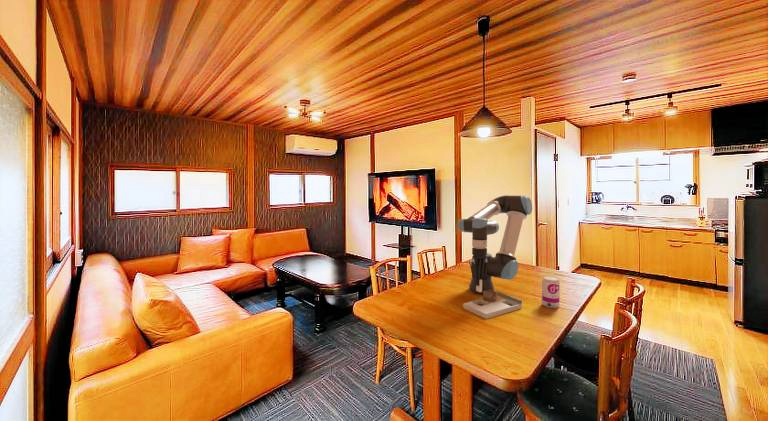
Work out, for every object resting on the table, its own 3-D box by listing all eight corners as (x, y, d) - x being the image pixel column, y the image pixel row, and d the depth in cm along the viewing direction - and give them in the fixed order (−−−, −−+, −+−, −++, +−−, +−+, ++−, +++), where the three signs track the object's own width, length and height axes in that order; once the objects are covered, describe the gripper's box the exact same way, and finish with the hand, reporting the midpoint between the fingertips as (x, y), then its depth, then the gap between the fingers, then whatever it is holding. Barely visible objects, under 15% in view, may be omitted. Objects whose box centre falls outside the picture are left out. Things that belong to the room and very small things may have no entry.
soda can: (561, 309, 159) (562, 281, 158) (544, 308, 161) (545, 280, 160) (556, 303, 167) (556, 276, 166) (539, 302, 169) (540, 276, 168)
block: (490, 302, 163) (490, 293, 163) (482, 299, 167) (483, 291, 167) (496, 301, 165) (496, 292, 165) (489, 298, 170) (489, 289, 169)
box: (486, 318, 149) (486, 310, 149) (463, 307, 163) (463, 299, 163) (521, 308, 161) (521, 300, 161) (497, 299, 175) (497, 291, 175)
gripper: (475, 249, 154) (475, 295, 155) (493, 247, 160) (493, 291, 161) (465, 247, 160) (464, 291, 162) (483, 245, 166) (482, 287, 168)
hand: (479, 291), depth 161 cm, fingers closed
